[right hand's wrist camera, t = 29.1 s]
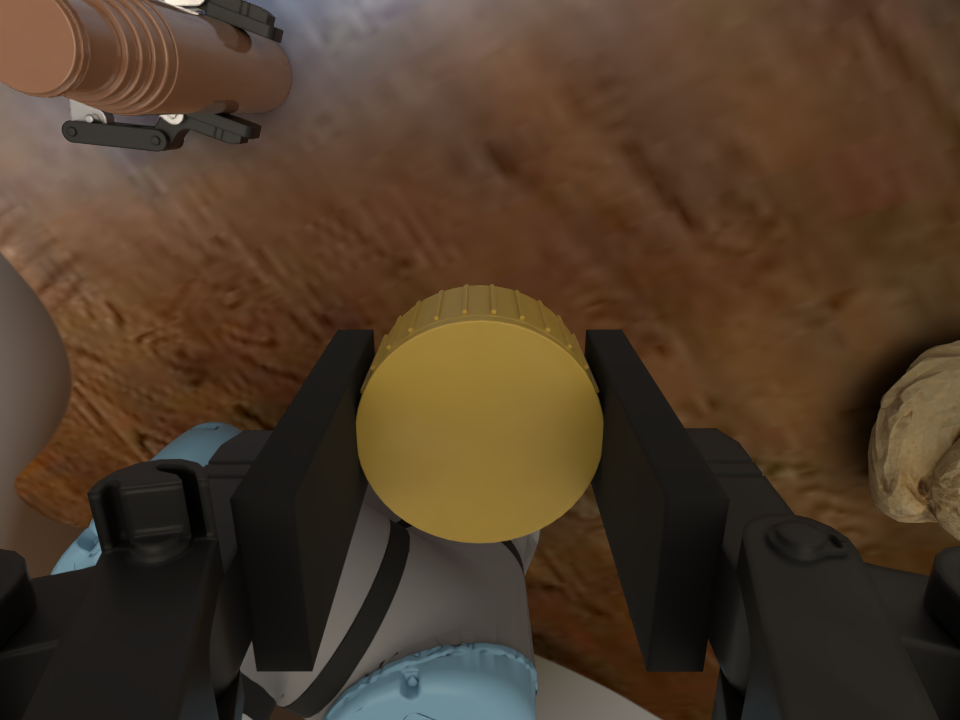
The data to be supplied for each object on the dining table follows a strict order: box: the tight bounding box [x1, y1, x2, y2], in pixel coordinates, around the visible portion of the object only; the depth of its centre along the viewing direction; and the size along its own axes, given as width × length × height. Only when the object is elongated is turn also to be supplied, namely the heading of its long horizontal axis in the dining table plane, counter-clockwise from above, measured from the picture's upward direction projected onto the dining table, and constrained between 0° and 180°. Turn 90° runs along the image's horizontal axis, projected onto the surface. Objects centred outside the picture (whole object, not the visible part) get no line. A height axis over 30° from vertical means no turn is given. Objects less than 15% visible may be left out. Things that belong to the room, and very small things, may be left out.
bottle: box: [0, 0, 292, 116], centre depth 33 cm, size 5×5×24 cm
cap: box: [356, 284, 604, 543], centre depth 13 cm, size 5×5×2 cm
